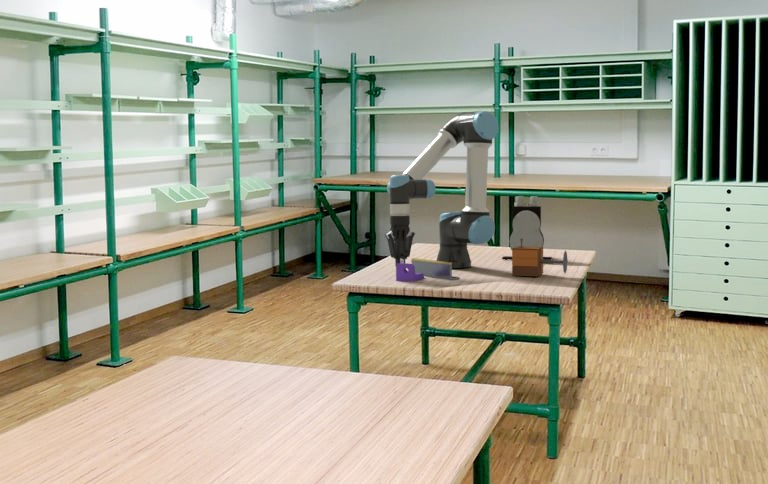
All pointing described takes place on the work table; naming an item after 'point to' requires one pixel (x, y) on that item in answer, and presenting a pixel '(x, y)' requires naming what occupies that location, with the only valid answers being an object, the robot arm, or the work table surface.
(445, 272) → the wall
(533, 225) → the mechanical component
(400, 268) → the bracket
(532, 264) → the brown box with disc
